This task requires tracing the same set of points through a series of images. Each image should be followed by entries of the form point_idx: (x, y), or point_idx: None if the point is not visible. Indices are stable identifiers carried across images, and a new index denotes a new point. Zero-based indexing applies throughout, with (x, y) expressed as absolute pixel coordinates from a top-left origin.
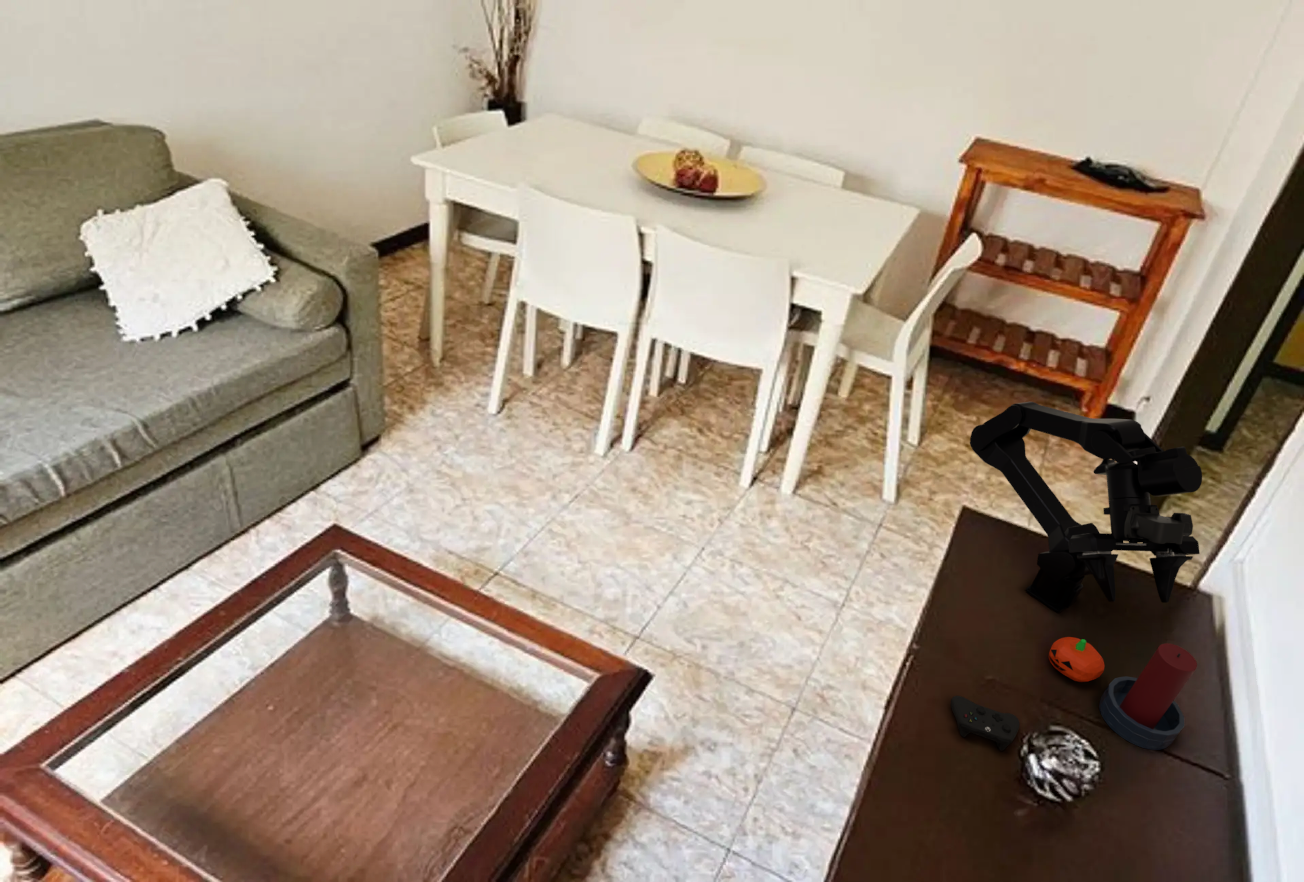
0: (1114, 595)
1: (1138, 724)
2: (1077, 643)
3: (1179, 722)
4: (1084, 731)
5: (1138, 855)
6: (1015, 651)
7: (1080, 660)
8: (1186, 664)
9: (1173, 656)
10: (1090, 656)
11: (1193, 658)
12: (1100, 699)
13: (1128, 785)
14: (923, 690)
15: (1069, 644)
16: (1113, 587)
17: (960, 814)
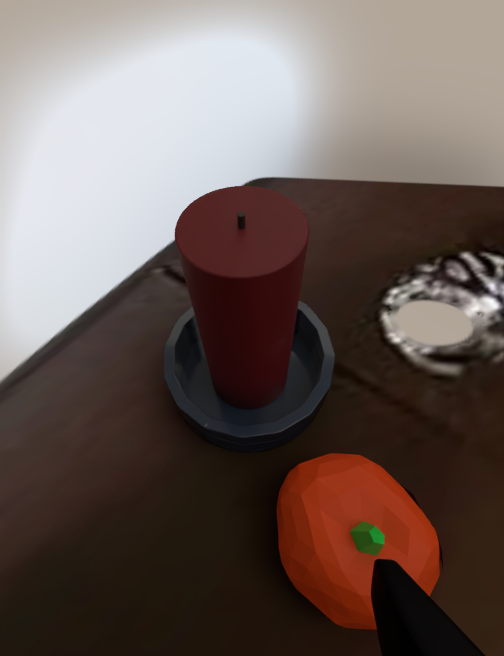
0: (400, 586)
1: (304, 308)
2: (379, 551)
3: None
4: (384, 357)
5: (390, 194)
6: (499, 638)
7: (386, 481)
8: (234, 202)
9: (259, 227)
10: (348, 490)
11: (182, 220)
12: (308, 425)
13: (350, 266)
14: None
15: (408, 553)
16: (444, 648)
17: None
